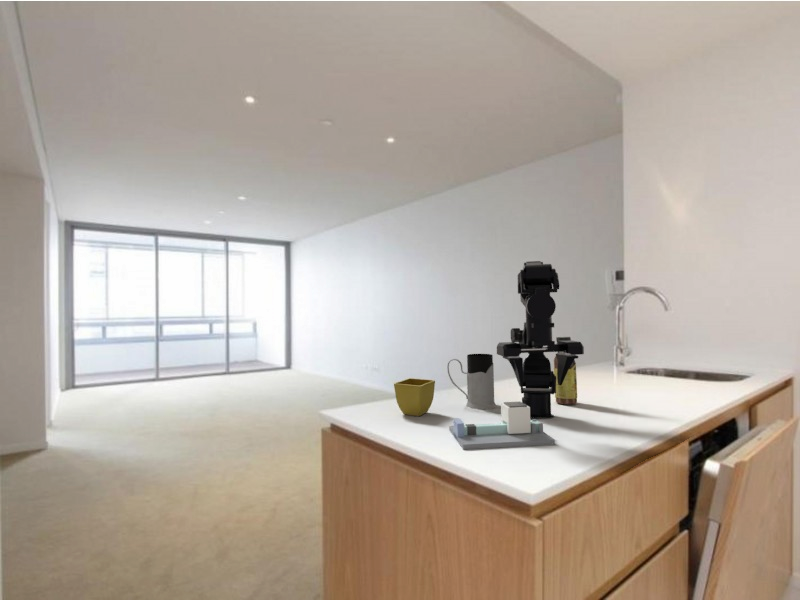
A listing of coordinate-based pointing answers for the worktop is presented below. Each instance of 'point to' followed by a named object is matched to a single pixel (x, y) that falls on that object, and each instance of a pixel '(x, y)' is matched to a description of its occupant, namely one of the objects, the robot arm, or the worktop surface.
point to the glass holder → (479, 381)
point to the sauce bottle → (566, 382)
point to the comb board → (497, 435)
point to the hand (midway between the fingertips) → (540, 385)
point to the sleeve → (516, 417)
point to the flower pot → (414, 395)
